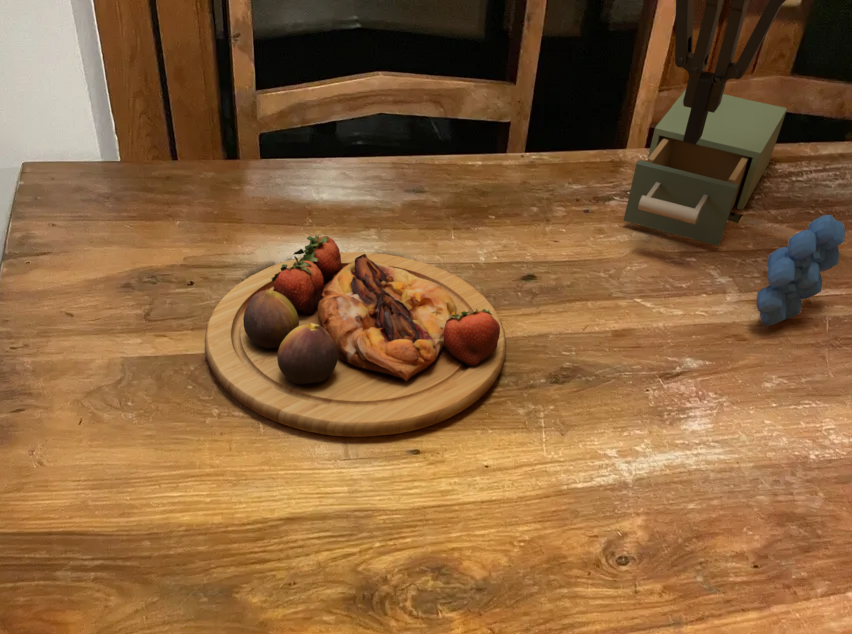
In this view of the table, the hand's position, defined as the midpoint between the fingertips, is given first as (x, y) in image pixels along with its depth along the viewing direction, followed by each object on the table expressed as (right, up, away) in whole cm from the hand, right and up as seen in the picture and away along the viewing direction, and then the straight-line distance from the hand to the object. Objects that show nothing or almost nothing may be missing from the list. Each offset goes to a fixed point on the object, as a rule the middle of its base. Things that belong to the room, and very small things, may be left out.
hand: (692, 138), depth 106 cm
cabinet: (+8, +5, +23) cm, 25 cm away
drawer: (+3, -3, +15) cm, 15 cm away
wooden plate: (-38, -25, -5) cm, 46 cm away
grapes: (+10, -19, +3) cm, 22 cm away
